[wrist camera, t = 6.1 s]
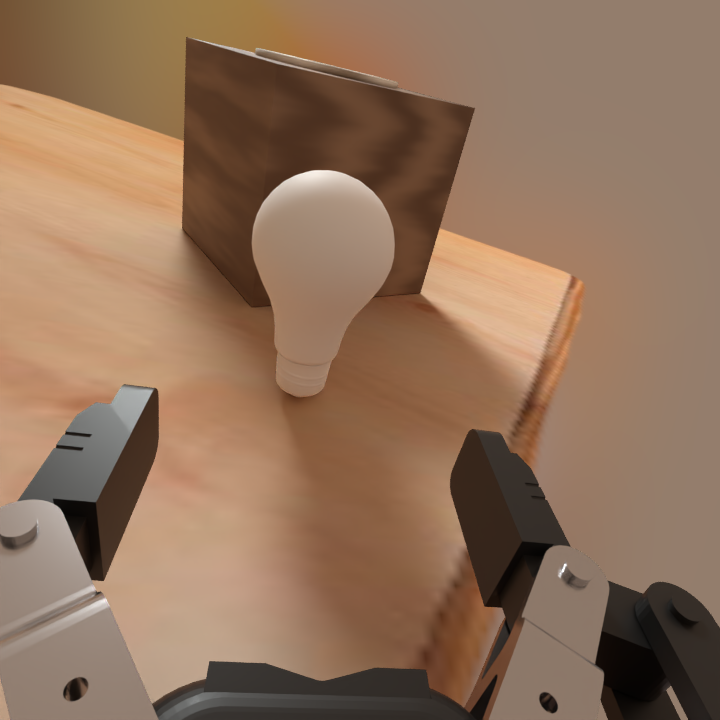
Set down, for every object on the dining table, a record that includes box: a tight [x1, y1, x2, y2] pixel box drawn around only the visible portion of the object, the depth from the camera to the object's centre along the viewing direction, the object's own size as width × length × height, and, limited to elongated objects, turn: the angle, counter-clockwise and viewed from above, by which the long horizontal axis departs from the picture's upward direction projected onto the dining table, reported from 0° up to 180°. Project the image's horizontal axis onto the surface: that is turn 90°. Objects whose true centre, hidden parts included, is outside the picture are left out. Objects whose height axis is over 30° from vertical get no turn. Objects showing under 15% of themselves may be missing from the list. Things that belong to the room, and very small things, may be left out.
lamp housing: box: [182, 37, 475, 307], centre depth 38 cm, size 15×15×14 cm
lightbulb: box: [252, 170, 395, 397], centre depth 22 cm, size 6×6×11 cm
